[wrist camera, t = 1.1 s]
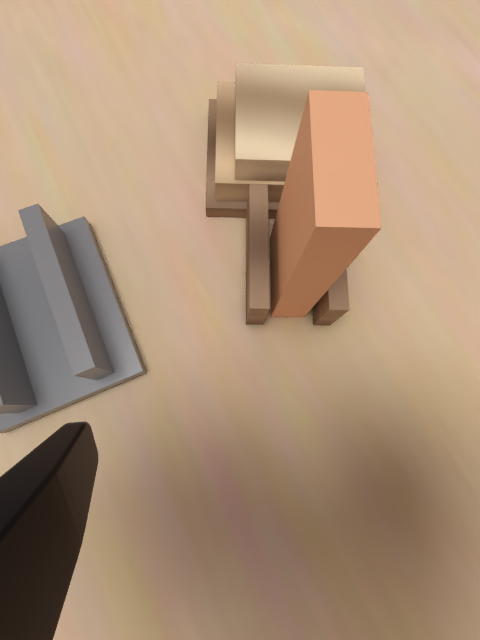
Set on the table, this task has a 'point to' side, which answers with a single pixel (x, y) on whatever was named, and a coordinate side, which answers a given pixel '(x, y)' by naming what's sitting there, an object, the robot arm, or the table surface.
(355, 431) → the table surface
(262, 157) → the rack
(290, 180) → the tall peach slab
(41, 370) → the holder
